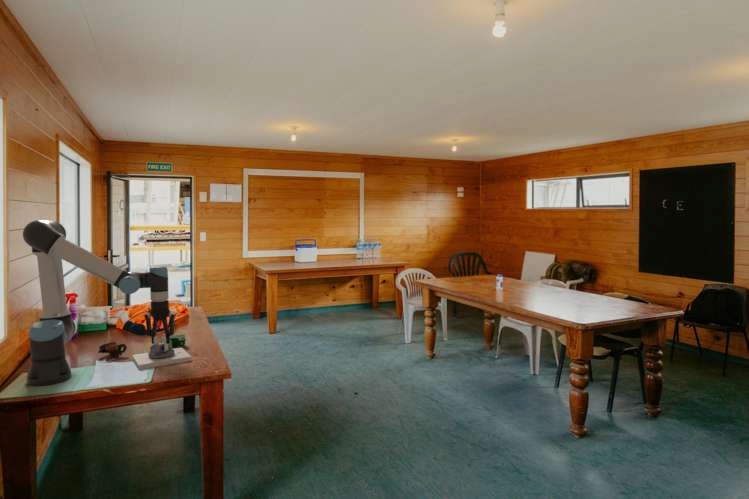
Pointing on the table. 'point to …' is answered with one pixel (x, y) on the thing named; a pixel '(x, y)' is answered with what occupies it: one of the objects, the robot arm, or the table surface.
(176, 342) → the clamp
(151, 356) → the dial
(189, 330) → the table surface
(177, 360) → the dial board
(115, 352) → the pottery mug
